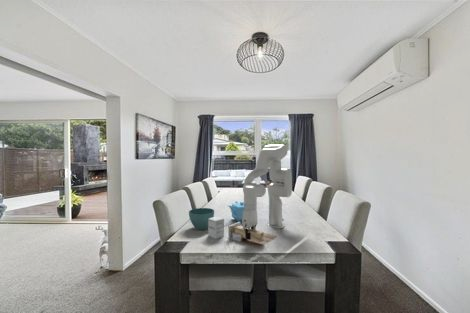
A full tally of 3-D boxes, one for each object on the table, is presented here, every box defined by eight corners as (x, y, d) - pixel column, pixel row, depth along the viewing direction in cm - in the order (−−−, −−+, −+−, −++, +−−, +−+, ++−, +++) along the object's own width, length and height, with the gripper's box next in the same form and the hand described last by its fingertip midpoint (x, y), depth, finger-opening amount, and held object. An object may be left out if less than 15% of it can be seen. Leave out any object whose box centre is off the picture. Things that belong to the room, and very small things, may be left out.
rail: (238, 233, 140) (238, 225, 140) (263, 240, 129) (263, 232, 129) (234, 235, 137) (234, 227, 137) (259, 242, 126) (259, 233, 126)
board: (247, 231, 155) (247, 228, 155) (277, 238, 140) (277, 236, 140) (226, 240, 138) (226, 238, 138) (258, 250, 123) (258, 247, 123)
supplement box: (207, 238, 142) (207, 218, 142) (217, 235, 147) (216, 216, 147) (215, 241, 137) (215, 220, 136) (224, 238, 142) (224, 218, 142)
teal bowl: (209, 233, 151) (209, 215, 151) (184, 231, 155) (184, 213, 155) (217, 224, 169) (217, 208, 169) (194, 223, 172) (194, 207, 172)
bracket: (239, 234, 145) (239, 221, 145) (250, 237, 139) (250, 224, 139) (228, 239, 136) (228, 226, 136) (239, 242, 131) (239, 228, 131)
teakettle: (248, 225, 168) (248, 205, 168) (226, 222, 175) (226, 203, 175) (256, 218, 185) (256, 200, 185) (235, 216, 192) (235, 199, 192)
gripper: (252, 203, 141) (252, 232, 141) (236, 208, 128) (236, 240, 128) (263, 205, 137) (263, 235, 137) (247, 210, 124) (247, 243, 124)
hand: (250, 237), depth 132 cm, fingers closed on rail, 4 cm apart
